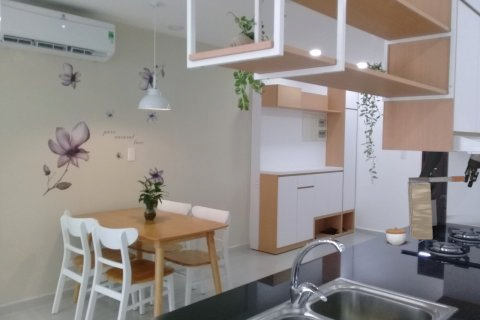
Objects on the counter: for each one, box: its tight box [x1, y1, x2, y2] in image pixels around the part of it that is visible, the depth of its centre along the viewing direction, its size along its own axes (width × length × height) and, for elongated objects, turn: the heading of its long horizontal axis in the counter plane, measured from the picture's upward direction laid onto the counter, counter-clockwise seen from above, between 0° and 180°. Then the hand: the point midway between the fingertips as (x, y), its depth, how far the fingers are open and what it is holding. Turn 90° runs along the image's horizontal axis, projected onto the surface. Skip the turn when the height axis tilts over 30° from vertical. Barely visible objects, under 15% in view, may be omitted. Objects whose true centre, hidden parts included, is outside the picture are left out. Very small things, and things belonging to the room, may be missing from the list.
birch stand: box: [407, 176, 434, 240], centre depth 250 cm, size 15×10×35 cm, turn 166°
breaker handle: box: [429, 175, 465, 183], centre depth 246 cm, size 4×18×3 cm, turn 76°
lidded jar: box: [385, 226, 407, 246], centre depth 234 cm, size 11×11×9 cm
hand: (467, 184), depth 248 cm, fingers open, 8 cm apart
